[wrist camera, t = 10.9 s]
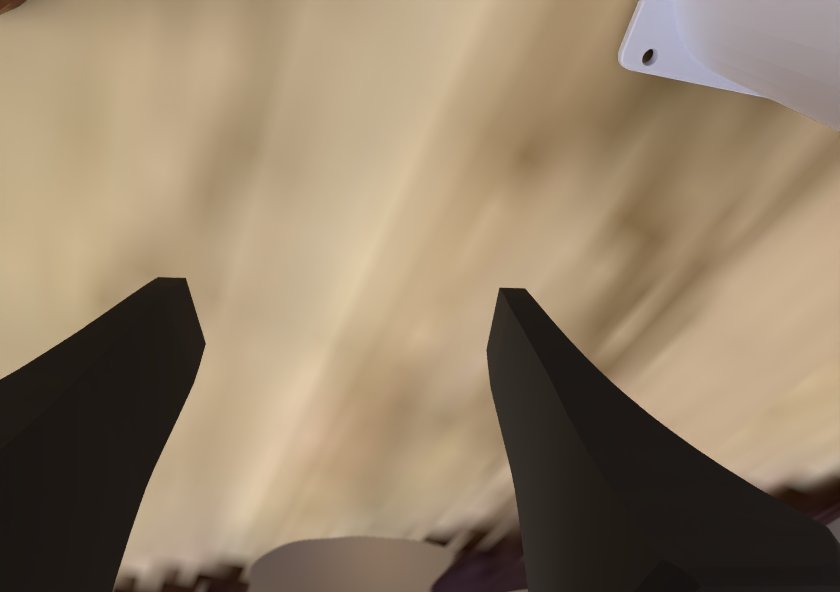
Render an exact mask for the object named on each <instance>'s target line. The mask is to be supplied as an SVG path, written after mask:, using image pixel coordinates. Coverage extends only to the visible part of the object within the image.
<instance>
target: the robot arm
mask: <svg viewBox="0 0 840 592" xmlns="http://www.w3.org/2000/svg"><path fill="white" fill-rule="evenodd" d="M649 49H652V50H653V56H652V58H651V59H650V60H649V61H648V62H646V63H643V62H642V57H643V55H644V53H645V52H646V51H648V50H649ZM618 61H619V63H620V64H621V66H623V67H624V68H626V69H628V70H632V71H637V72H642V73H646V74H651V75H656V76H661V77H666V78H671V79H676V80H681V81H686V82H691V83H695V84H700V85H705V86H710V87H715V88H720V89H725V90H730V91H735V92H740V93H745V94H749V95H754V96H759V97H764V98H769V99H771V100H773V101H775V102H777V103H779V104H781V105H784V106H786V107H788V108H790V109H792V110H794V111H796V112H798V113H801V114H803V115H805V116H807V117H809V118H811V119H813V120H815V121H818V122H820V123H822V124H824V125H826V126H828V127H830V128H832V129H835V130H837V131H839V132H840V0H639V1H638V4H637V6H636V9H635V11H634V14H633V16H632V19H631V21H630V24H629V26H628V29H627V31H626V34H625V36H624V39H623V41H622V44H621V46H620V49H619V53H618ZM205 344H206V343H205V340H204V336H203V333H202V330H201V327H200V323H199V320H198V317H197V314H196V310H195V307H194V304H193V300H192V297H191V294H190V291H189V287H188V284H187V281H186V278H166V277H158V278H156V279H154V280H153V281H151V282H149V283H148V284H146V285H145V286H143V287H142V288H140V289H139V290H137V291H136V292H135V293H133V294H132V295H130V296H129V297H127V298H126V299H124V300H123V301H122V302H120V303H119V304H117V305H116V306H114V307H113V308H112V309H110V310H109V311H107V312H106V313H104V314H103V315H101V316H100V317H98V318H97V319H96V320H94V321H93V322H91V323H90V324H88V325H87V326H85V327H84V328H82V329H81V330H80V331H78V332H77V333H75V334H74V335H72V336H71V337H69V338H67V339H66V340H64V341H63V342H61V343H59V344H58V345H56V346H55V347H53V348H52V349H50V350H48V351H47V352H45V353H44V354H42V355H41V356H39V357H37V358H36V359H34V360H33V361H31V362H30V363H28V364H26V365H25V366H23V367H21V368H20V369H18V370H16V371H15V372H13V373H11V374H9V375H8V376H6V377H4V378H2V379H1V380H0V592H112V591H113V587H114V584H115V580H116V577H117V574H118V570H119V567H120V564H121V561H122V558H123V555H124V551H125V548H126V545H127V542H128V539H129V536H130V532H131V529H132V527H133V524H134V521H135V518H136V515H137V512H138V509H139V506H140V503H141V501H142V498H143V495H144V492H145V489H146V487H147V484H148V482H149V479H150V477H151V475H152V472H153V470H154V468H155V465H156V463H157V461H158V459H159V457H160V455H161V453H162V451H163V448H164V446H165V444H166V442H167V440H168V438H169V436H170V434H171V431H172V429H173V427H174V425H175V423H176V421H177V419H178V417H179V414H180V412H181V410H182V408H183V406H184V404H185V401H186V399H187V397H188V395H189V393H190V390H191V388H192V386H193V384H194V381H195V378H196V375H197V372H198V369H199V366H200V362H201V359H202V355H203V351H204V348H205ZM487 359H488V369H489V377H490V385H491V391H492V395H493V399H494V403H495V407H496V412H497V416H498V420H499V424H500V428H501V432H502V436H503V440H504V444H505V448H506V452H507V456H508V460H509V464H510V468H511V473H512V478H513V483H514V488H515V494H516V501H517V508H518V515H519V522H520V529H521V536H522V544H523V552H524V560H525V568H526V576H527V585H528V592H840V543H839V542H838V541H837V539H836V538H835V536H834V535H833V534H832V532H831V531H830V530H829V529H828V528H827V527H826V526H824V525H822V524H821V523H819V522H817V521H815V520H813V519H812V518H810V517H808V516H806V515H804V514H803V513H801V512H799V511H797V510H796V509H794V508H792V507H790V506H788V505H787V504H785V503H783V502H781V501H779V500H778V499H776V498H774V497H772V496H771V495H769V494H767V493H765V492H763V491H762V490H760V489H758V488H757V487H755V486H753V485H752V484H750V483H748V482H747V481H745V480H744V479H742V478H740V477H739V476H737V475H736V474H734V473H733V472H731V471H729V470H728V469H726V468H725V467H723V466H721V465H720V464H718V463H717V462H715V461H714V460H712V459H711V458H709V457H708V456H706V455H705V454H703V453H702V452H700V451H699V450H697V449H696V448H694V447H693V446H692V445H690V444H689V443H687V442H686V441H685V440H683V439H682V438H681V437H679V436H678V435H676V434H675V433H674V432H672V431H671V430H669V429H668V428H667V427H665V426H664V425H663V424H661V423H660V422H659V421H657V420H656V419H655V418H654V417H652V416H651V415H650V414H648V413H647V412H646V411H645V410H644V409H642V408H641V407H640V406H639V405H638V404H636V403H635V402H634V401H633V400H632V399H630V398H629V397H628V396H627V395H626V394H624V393H623V392H622V391H621V390H620V389H619V388H618V387H617V386H615V385H614V384H613V383H612V382H611V381H610V380H609V379H608V378H607V377H606V376H605V375H604V374H603V373H602V372H601V371H599V370H598V369H597V368H596V367H595V366H594V365H593V364H592V363H591V362H590V361H589V360H588V359H587V358H586V357H585V356H584V355H583V354H582V353H581V352H580V351H579V350H578V348H577V347H576V346H575V345H574V344H573V343H572V342H571V341H570V340H569V339H568V338H567V337H566V336H565V334H564V333H563V332H562V331H561V330H560V329H559V328H558V326H557V325H556V324H555V323H554V322H553V321H552V320H551V318H550V317H549V316H548V315H547V314H546V313H545V311H544V310H543V309H542V308H541V307H540V305H539V304H538V303H537V302H536V301H535V300H534V298H533V297H532V296H531V295H530V294H529V293H528V291H527V290H526V289H523V288H499V293H498V297H497V302H496V307H495V312H494V317H493V321H492V326H491V331H490V336H489V340H488V345H487Z"/></svg>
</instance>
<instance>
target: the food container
mask: <svg viewBox="0 0 840 592" xmlns="http://www.w3.org/2000/svg"><path fill="white" fill-rule="evenodd" d="M25 1H26V0H0V14H2V13H5V12H7V11H9V10H12V9H14V8H16V7H18V6H20V5H21V4H22V3H24V2H25Z"/></svg>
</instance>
